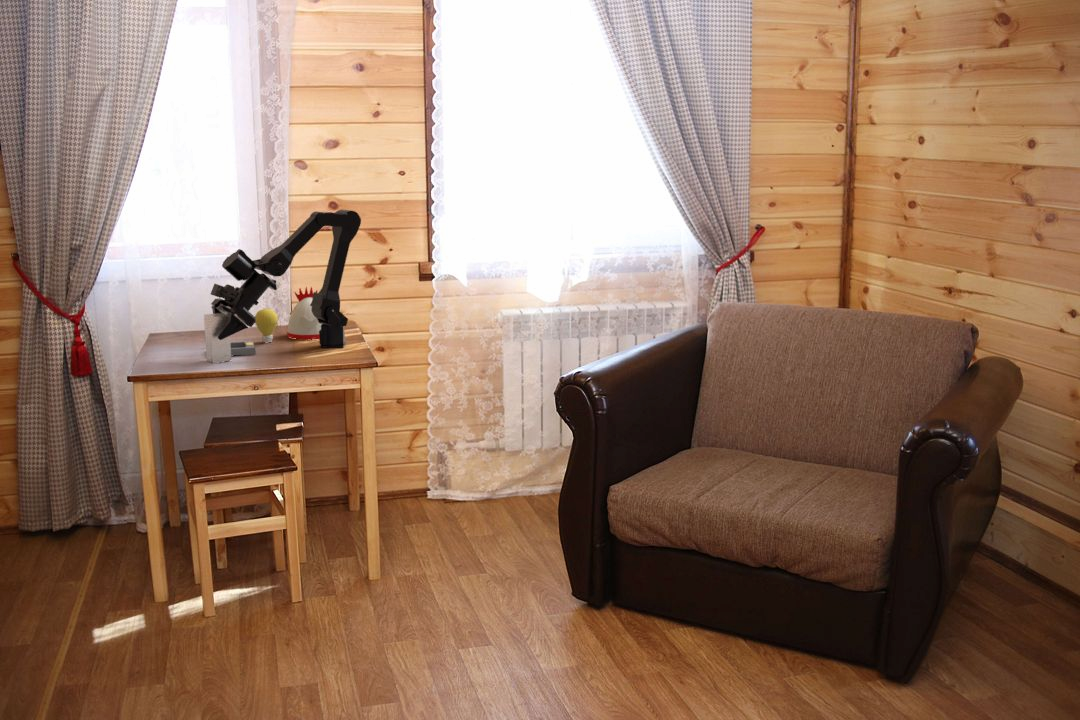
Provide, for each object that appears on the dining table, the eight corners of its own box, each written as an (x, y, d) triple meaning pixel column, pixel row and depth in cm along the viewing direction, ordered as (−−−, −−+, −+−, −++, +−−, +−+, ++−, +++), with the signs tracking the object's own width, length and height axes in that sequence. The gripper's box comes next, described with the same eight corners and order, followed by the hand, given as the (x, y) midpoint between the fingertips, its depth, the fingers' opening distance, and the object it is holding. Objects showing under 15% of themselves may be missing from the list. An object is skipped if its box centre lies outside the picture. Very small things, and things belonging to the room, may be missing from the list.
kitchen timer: (288, 332, 327) (285, 284, 323) (333, 330, 329) (331, 282, 326) (286, 341, 313) (284, 290, 310) (334, 339, 316) (332, 289, 313)
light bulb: (267, 345, 307) (265, 311, 304) (250, 343, 310) (248, 309, 308) (284, 341, 312) (282, 308, 310) (267, 339, 316) (265, 306, 313)
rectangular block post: (224, 358, 290) (222, 312, 288) (231, 361, 286) (228, 315, 284) (206, 360, 287) (203, 314, 285) (213, 363, 283) (210, 317, 281)
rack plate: (252, 347, 304) (252, 340, 303) (255, 354, 294) (255, 346, 294) (212, 350, 300) (212, 342, 300) (214, 357, 291) (213, 349, 290)
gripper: (216, 269, 291) (178, 312, 287) (241, 276, 277) (202, 322, 273) (245, 294, 298) (209, 337, 294) (271, 303, 283) (233, 349, 279)
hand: (212, 336), depth 285 cm, fingers open, 9 cm apart
